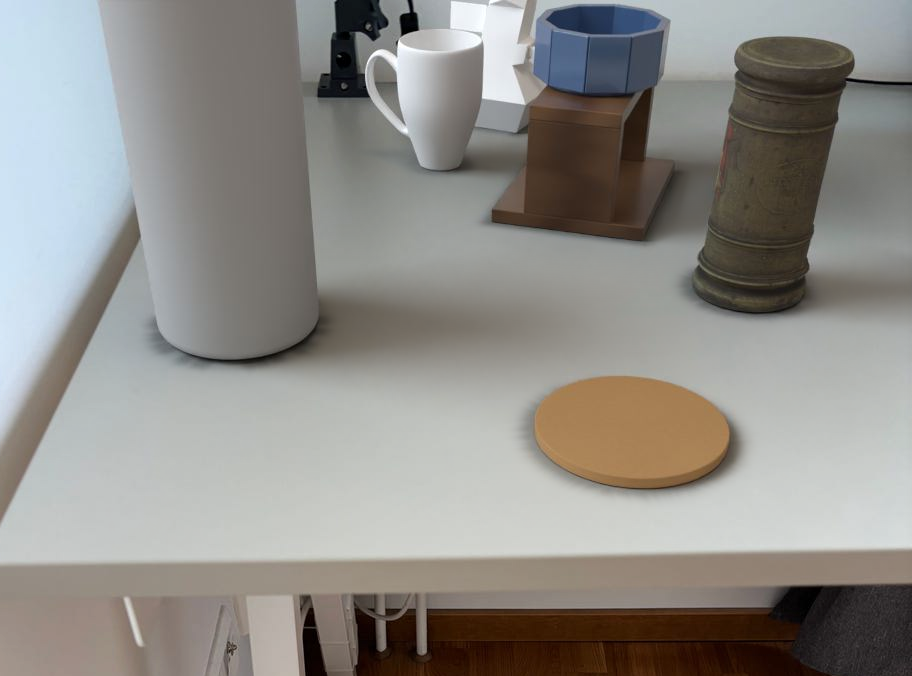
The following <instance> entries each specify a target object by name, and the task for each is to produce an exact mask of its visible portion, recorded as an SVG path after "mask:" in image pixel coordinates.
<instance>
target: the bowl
mask: <svg viewBox="0 0 912 676" xmlns="http://www.w3.org/2000/svg"><path fill="white" fill-rule="evenodd" d="M670 27H671V19H669V18H668V17H666V16H664V15H662V14H661V13H659V12H657V11H656V10H652V9H650V8H644V7H638V6H632V5H625V4H620V3H617V4H616V3H574V4H569V5H562V6H558V7H553V8H548V9H545V11H543V12H542V13H541V14H540V15H539V16H538V17H537V18H536V19H535V34H534V35H535V36H534V39H535V50H534V59H533V65H534V67H533V75H535V76H536V77H537V78H539V79H540V80H541V81H543V82H544V83H545V84H547V85H549V86H550V87H552V88H555V89H557V90H560V91H564V92H568V93H573V94H579V95H587V96H620V95H628V94H634V93H638V92H641V91H644V90H646V89H648V88H650V87H654V86H655V87H657V86H658V84H659V83H660V81H661V79H662V78H663V76H664V73H665V65H666V60H667V59H666V58H667V51H668V43H669V36H670V29H671V28H670Z"/></svg>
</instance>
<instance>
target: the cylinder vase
mask: <svg viewBox="0 0 912 676" xmlns="http://www.w3.org/2000/svg"><path fill="white" fill-rule="evenodd" d="M97 5H98V11H99V17H100V22H101V27H102V32H103V38H104V43H105V48H106V54H107V59H108V64H109V65H108V66H109V69H110V77H111V81H112V87H113V91H114V98H115V102H116V108H117V113H118V114H117V115H118V119H119V124H120V130H121V136H122V140H123V147H124V151H125V157H126V163H127V167H128V173H129V179H130V184H131V189H132V195H133V201H134V206H135V211H136V217H137V223H138V228H139V233H140V238H141V243H142V249H143V255H144V261H145V265H146V271H147V277H148V281H149V287H150V293H151V297H152V304H153V308H154V314H155V318H156V319H155V320H156V324H157V328H158V331H159V333H160V334H161V336H162V337H163V339H165V340H166V342H167V343H169V344H170V345H171V346H173V347H174V348H176V349H178V350H179V351H182V352H184V353H187V354H188V355H189V354H190V355H192V356H196V357H201V358H205V359H213V360H227V361H228V360H234V361H235V360H248V359H254V358H261V357H265V356H270V355H274V354H276V353H279V352H282V351H285V350H287V349H289V348H291V347H293V346H295V345H296V344H298V343H300V342H301V341H303V340H304V339H305V338H307V337H308V336H309V335H310V334H311V333H312V332H313V330H314V329H315V327H316V325H317V323H318V320H319V318H320V305H319V291H318V279H317V266H316V264H317V263H316V251H315V237H314V226H313V224H314V223H313V211H312V198H311V197H312V196H311V183H310V173H309V171H310V170H309V158H308V146H307V132H306V120H305V118H306V117H305V106H304V104H305V103H304V93H303V79H302V68H301V67H302V65H301V53H300V52H301V51H300V41H299V39H300V38H299V27H298V13H297V0H97Z"/></svg>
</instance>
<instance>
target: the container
mask: <svg viewBox="0 0 912 676" xmlns="http://www.w3.org/2000/svg"><path fill="white" fill-rule="evenodd" d="M733 61H734V66H735V67H736V69H737V71H736V72H735V73H734V77H733V78H734V81H735V82H734V85H735V86H734V90H733V97H732V100H731V101H732V102H731V103H730V106H729V108H728V110H727V115H728V120H727V123H726V124H727V125H726V130H725V135H724V140H723V145H722V151H721V156H720V162H719V167H718V171H717V177H716V181H715V182H716V183H715V187H714V188H715V189H714V194H713V197H712V205H711V210H710V214H709V215H708V218H707V221H706V224H707V225H706V226H707V227H706V228H707V229H706V235H705V240H704V245H703V246H702V248H701V250H699V252H698V254H697V258H696V261H697V265H696V266H695V268H694V270H693V273H692V279H691V280H692V287H693V289H694V291H695V293H696V294H697V295H698V296H699V297H700V298H701V299H703V300H705V301H707V302H709V303H710V304H713V305H715V306H718V307H720V308H724V309H728V310H731V311H732V310H733V311H738V312H746V313H747V312H748V313H768V312H769V313H770V312H776V311H780V310H784V309H787V308H790V307H793V305H795V304H797V303H798V302H799V301H800V300H801V299H802V298H803V296H804V294H805V292H806V289H807V282H808V281H807V278H806V275H807V274H808V273H809V271H810V262H809V259H808V253H809V249H810V246H811V240H812V238H813V236H814V233H815V223H814V222H815V218H816V213H817V209H818V205H819V199H820V196H821V195H820V194H821V189H822V185H823V181H824V177H825V173H826V169H827V165H828V161H829V157H830V156H829V155H830V151H831V147H832V143H833V140H834V135H835V130H836V125H837V124H838V122H839V120H840V118H839V108H840V104H841V98H842V95H843V93H844V90H845V89H846V88H847V85H848V84H847V79H846V78H848V77H850V76H851V74H852V73H853V71H854V70H855V65H856V60H855V54H854V52H853V51H852V50H851V49H850V48H849V47H847V46H845V45H843V44H840V43H837V42H834V41H830V40H826V39H822V38H821V39H820V38H813V37H807V36H787V35H785V36H781V35H779V36H776V35H775V36H763V37H757V38H752V39H748V40H745V41H744V42H741V43H740V44H739V45H738V46H737V49H735V53H734V57H733Z"/></svg>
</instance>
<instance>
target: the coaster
mask: <svg viewBox="0 0 912 676" xmlns="http://www.w3.org/2000/svg"><path fill="white" fill-rule="evenodd" d="M533 431H534V437H535V441H536V442H537V445H538V446H539V448H540V449H541V451H542V452H543V453H544V454H545V455H546V456H547V457H548V459H550V460H551V461H552V462H553V463H555V464H556V465H557V466H559V467H561V468H562V469H564V470H565V471H568V472H569V473H572V474H573V475H575V476H578V477H581V478H583V479H585V480H588V481H591V482H596V483H599V484H603V485H608V486H613V487H619V488H628V489H629V488H630V489H659V488H667V487H674V486H678V485H683V484H687V483H690V482H692V481H695V480H697V479H698V480H699V479H700V478H701V477H703V476H706V475H707V474H709V473H710V472H712V471H713V470H714V469H716V468H717V467H718V465H720V464H721V462H722V461H723V460H724V458H725V457H726V454H727V451H728V449H729V445H730V437H731V433H730V426H729V423H728V421H727V419H726V417H725V416H724V414H723V413H722V412H721V411H720V410H719V409H718V407H717V406H716V405H714V404H713V403H712V402H711V401H709V400H708V399H707V398H705V397H704V396H702V395H700V394H698V393H696V392H695V391H692V390H690V389H688V388H686V387H683V386H680V385H679V384H674V383H671V382H669V381H664V380H661V379H656V378H651V377H642V376H634V375H633V376H632V375H609V376H608V375H607V376H606V375H605V376H597V377H590V378H586V379H581V380H577V381H573V382H571V383H569V384H565V385H564V386H561V387H560V388H558V389H555V390H554V391H552V392H551V393H550V394H549V395H547V396H546V397H545V398H544V399H543V400H542V401H541V402H540V404H539V406H538V407H537V410H536V412H535V415H534V427H533Z"/></svg>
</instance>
